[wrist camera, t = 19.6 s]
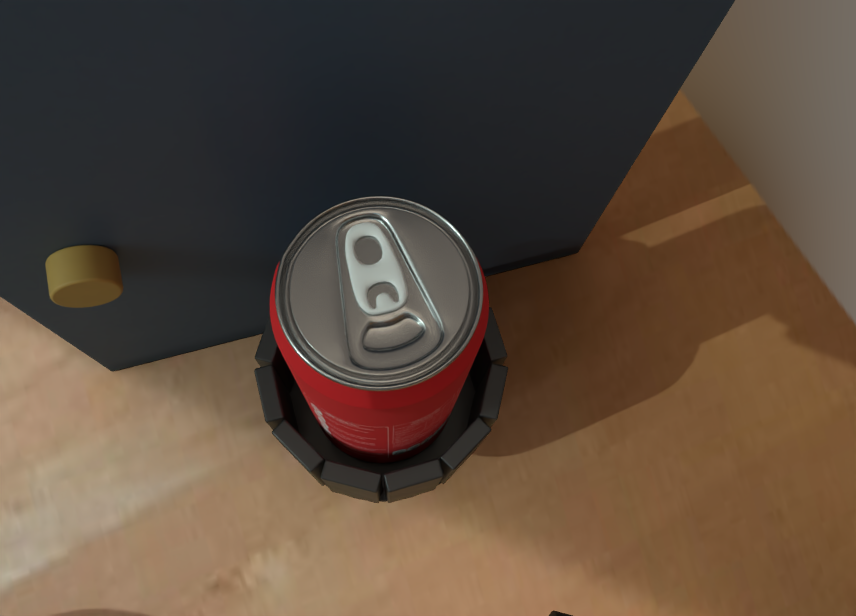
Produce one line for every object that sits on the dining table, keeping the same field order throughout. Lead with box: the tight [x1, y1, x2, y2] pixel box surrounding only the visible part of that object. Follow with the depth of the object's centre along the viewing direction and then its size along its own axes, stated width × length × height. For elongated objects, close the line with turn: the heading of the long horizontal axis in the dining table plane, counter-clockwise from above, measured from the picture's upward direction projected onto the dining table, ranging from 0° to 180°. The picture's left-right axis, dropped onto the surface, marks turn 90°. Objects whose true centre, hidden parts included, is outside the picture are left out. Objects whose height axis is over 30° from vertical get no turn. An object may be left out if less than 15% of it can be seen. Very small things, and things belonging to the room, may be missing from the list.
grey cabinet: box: [0, 0, 735, 503], centre depth 22 cm, size 22×18×24 cm
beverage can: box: [270, 195, 489, 463], centre depth 22 cm, size 5×5×12 cm
